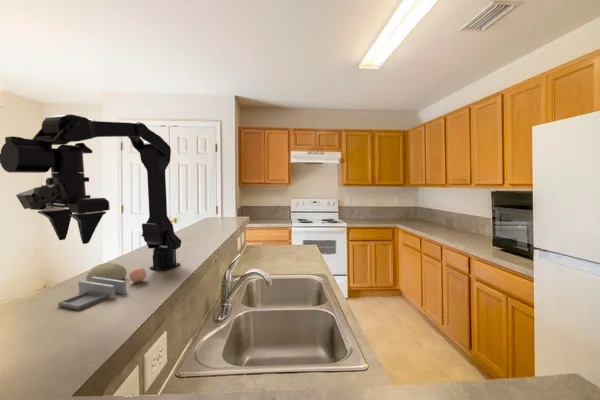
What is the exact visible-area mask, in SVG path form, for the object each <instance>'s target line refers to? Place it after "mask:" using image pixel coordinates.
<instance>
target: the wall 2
mask: <svg viewBox="0 0 600 400" xmlns="http://www.w3.org/2000/svg"><path fill="white" fill-rule="evenodd" d="M91 282H95V283H101V284H108V285H114V286H115V294H121V295H124V294H127V283H126V280H114V279H108V278H101V277H91Z"/></svg>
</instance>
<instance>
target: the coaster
mask: <svg viewBox="0 0 600 400" xmlns="http://www.w3.org/2000/svg"><path fill="white" fill-rule="evenodd" d="M107 299H108V298H107V295H106V294H100V293H95V292H89V291H87V292H85V293H82V294H80V293H78V294H77V295H75V296H71V297H69V298H66V299H63V300H60V301H58V307H59V306H61V307H60V308H63V307H64V309H68V310H74V311H78V312H79V311H81V310H83V309H86V308H89V307H91V306H93V305H96V304H99V303H100V302H103V301H105V300H107Z"/></svg>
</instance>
